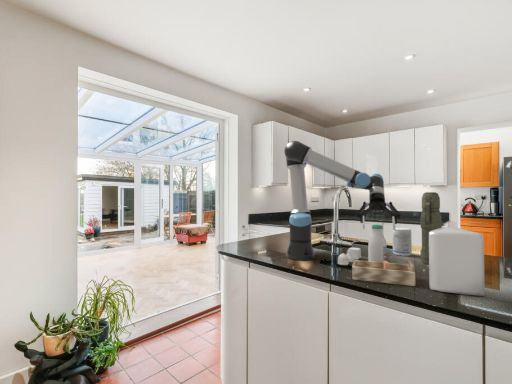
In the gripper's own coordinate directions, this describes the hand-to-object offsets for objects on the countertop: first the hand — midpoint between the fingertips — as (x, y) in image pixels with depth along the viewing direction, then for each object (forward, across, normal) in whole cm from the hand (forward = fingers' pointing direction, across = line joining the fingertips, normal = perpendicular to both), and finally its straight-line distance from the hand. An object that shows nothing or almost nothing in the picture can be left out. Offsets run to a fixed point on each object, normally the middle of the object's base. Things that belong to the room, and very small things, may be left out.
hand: (378, 228), depth 132 cm
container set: (+11, +14, -14) cm, 23 cm away
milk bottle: (+19, +1, -6) cm, 20 cm away
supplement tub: (-8, -13, -33) cm, 37 cm away
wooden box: (+29, 0, +4) cm, 29 cm away
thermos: (+4, -24, -21) cm, 32 cm away
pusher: (+28, -1, +5) cm, 28 cm away
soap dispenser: (+32, -23, +7) cm, 40 cm away
